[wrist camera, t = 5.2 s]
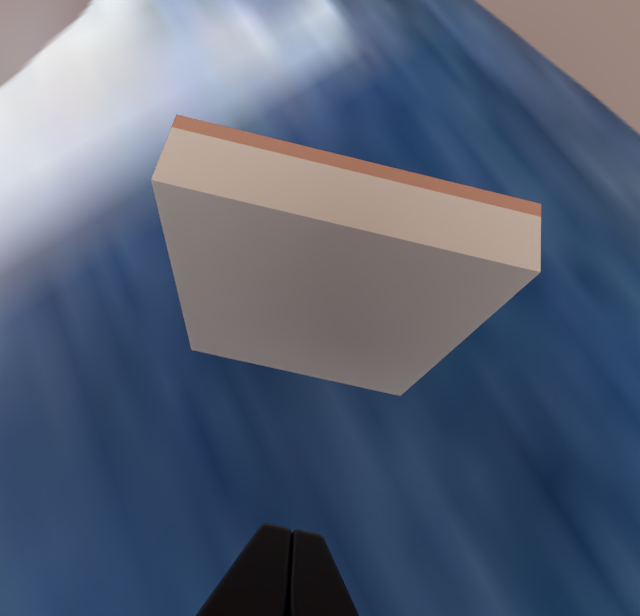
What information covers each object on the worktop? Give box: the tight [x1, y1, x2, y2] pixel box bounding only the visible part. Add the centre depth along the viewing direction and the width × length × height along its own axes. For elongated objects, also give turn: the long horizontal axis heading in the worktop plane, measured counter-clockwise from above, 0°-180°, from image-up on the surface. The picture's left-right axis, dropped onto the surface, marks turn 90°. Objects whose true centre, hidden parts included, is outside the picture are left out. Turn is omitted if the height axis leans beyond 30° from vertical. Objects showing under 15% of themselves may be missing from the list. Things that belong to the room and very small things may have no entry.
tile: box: [151, 115, 541, 396], centre depth 14 cm, size 2×7×9 cm, turn 80°
